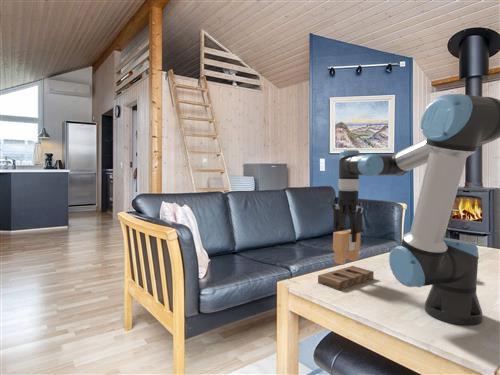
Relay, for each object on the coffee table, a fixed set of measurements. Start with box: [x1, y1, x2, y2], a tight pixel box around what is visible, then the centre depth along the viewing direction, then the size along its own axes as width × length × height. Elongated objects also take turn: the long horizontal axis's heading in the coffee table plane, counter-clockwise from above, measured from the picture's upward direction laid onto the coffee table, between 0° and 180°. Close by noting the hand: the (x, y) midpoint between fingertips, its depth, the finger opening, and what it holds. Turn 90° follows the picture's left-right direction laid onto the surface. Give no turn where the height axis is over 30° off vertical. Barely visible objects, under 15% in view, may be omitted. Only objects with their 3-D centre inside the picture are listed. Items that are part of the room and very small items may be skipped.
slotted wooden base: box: [317, 265, 375, 291], centre depth 136 cm, size 22×10×3 cm, turn 127°
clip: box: [332, 229, 362, 265], centre depth 135 cm, size 12×4×12 cm, turn 127°
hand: (346, 248), depth 135 cm, fingers closed on clip, 4 cm apart
